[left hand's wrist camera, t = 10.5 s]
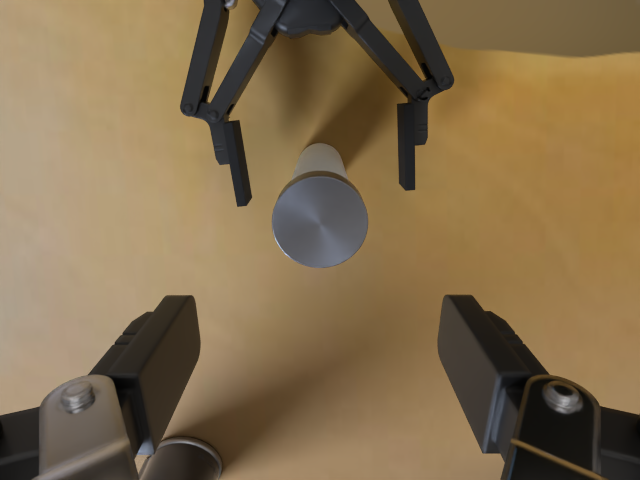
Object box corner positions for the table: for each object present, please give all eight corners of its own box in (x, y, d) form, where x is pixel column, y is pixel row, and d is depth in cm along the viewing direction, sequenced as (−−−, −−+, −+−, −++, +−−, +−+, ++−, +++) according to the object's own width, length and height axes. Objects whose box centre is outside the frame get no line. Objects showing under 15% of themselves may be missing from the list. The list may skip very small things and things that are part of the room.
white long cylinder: (341, 141, 36) (358, 179, 20) (343, 186, 38) (361, 255, 22) (295, 144, 36) (275, 185, 20) (299, 189, 38) (284, 260, 22)
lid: (363, 167, 21) (366, 173, 19) (365, 253, 23) (369, 265, 21) (270, 173, 21) (266, 179, 20) (280, 258, 23) (277, 271, 21)
